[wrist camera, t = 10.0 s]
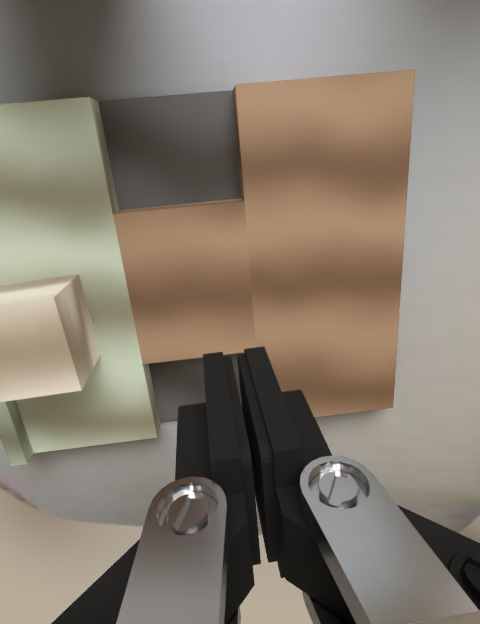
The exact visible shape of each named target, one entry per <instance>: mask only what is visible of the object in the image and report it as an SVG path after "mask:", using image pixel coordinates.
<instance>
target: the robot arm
mask: <svg viewBox="0 0 480 624" xmlns="http://www.w3.org/2000/svg"><path fill="white" fill-rule="evenodd" d="M237 361H238V372H239V383H240V393H241V402H240V397H239V392H238V387H237V382H236V378H235V373H234V368H233V363H232V358H231V356H226V357H223V352H216V353H208V354H203V366H204V381H205V395H206V402H204V403H197V404H190V405H182V406H179V407H178V424H177V449H176V474H175V481H174V482H171V483H170V484H168V485H167V486H165V487H164V488H163V489H161V490H160V491H159V492H158V494H157V495H156V496H155V497H154V498H153V500H152V503H151V505H150V507H149V509H148V513H147V516H146V520H145V524H144V527H143V531H142V534H141V538H140V539H139V540H138V541H137V542H136V543H135V544H134V545H133V546H132V547H131V548H130V549H129V550H128V551H127V552H126V553H125V554H124V555H123V556H122V557H121V558H120V559H119V560H117V561H116V562H115V563H114V564H113V565H112V566H111V567H110V568H109V569H108V570H107V571H106V572H105V573H104V574H103V575H102V576H101V577H100V578H99V579H98V580H97V581H95V582H94V583H93V584H92V585H91V587H89V588H88V589H87V590H86V591H85V592H84V593H83V594H82V595H81V596H80V597H79V598H78V599H77V600H76V601H74V602H73V603H72V605H70V606H69V607H68V608H67V609H66V610H65V611H64V612H63V613H62V614H61V615H60V616H59V617H58V618H57V619H56V620H55V621H54V622H53V623H52V624H240V621H241V620H240V619H241V616H240V607H239V606H240V604H241V603H242V602H243V600H244V599H245V598H246V596H247V595H248V593H249V592H250V590H251V589H252V588H253V586H254V575H253V565H257V564H260V563H261V560H260V549H259V538H258V526H257V514H256V502H257V507H258V512H259V517H260V522H261V528H262V533H263V538H264V543H265V548H266V554H267V559H268V562H274V561H277V562H278V567H279V571H280V576H281V578H283V577H285V578H286V580H287V581H289V582H291V583H292V584H293V585H295V586H296V587H298V588H299V589H301V590H302V591H303V597H304V601H305V604H306V607H307V610H308V612H309V615H310V617H311V619H312V622H313V624H480V543H478V542H476V541H474V540H471V539H469V538H467V537H465V536H463V535H461V534H459V533H456V532H454V531H452V530H450V529H448V528H446V527H444V526H441V525H439V524H437V523H435V522H433V521H431V520H429V519H426V518H424V517H422V516H420V515H418V514H416V513H414V512H411V511H409V510H407V509H405V508H403V507H401V506H398V505H397V504H396V503H395V502H394V501H393V499H392V498H391V497H390V495H389V494H388V493H387V492H386V490H385V489H384V488H383V486H382V485H381V484H380V483H379V481H378V480H377V479H376V477H375V476H374V475H373V474H372V473H371V472H370V471H369V470H368V469H367V468H366V467H365V466H364V465H362V464H361V463H359V462H357V461H355V460H353V459H350V458H346V457H343V456H332V454H331V452H330V450H329V448H328V446H327V443H326V441H325V439H324V437H323V435H322V433H321V431H320V428H319V426H318V424H317V422H316V420H315V418H314V416H313V413H312V411H311V409H310V407H309V405H308V403H307V400H306V398H305V396H304V394H303V392H302V391H301V390H300V389H299V390H292V391H285V392H282V391H281V389H280V386H279V384H278V381H277V378H276V376H275V373H274V370H273V368H272V365H271V363H270V360H269V357H268V355H267V352H266V349H265V347H264V346H263V347H255V348H247V349H244V354H242V355H237ZM241 404H242V407H241ZM255 496H256V502H255Z"/></svg>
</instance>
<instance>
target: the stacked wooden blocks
mask: <svg viewBox="0 0 480 624" xmlns="http://www.w3.org/2000/svg"><path fill="white" fill-rule="evenodd" d="M414 79H415V70H406V71H394V72H382V73H370V74H358V75H346V76H334V77H322V78H309V79H297V80H285V81H273V82H261V83H249V84H237V85H235V86H234V89H233V90H231V91H219V92H207V93H195V94H184V95H172V96H160V97H148V98H136V99H124V100H112V101H100V102H98V101H96V100H94V99H93V98H91V97H80V98H68V99H56V100H44V101H32V102H20V103H8V104H0V284H8V283H15V282H23V281H30V280H38V279H46V278H53V277H61V276H68V275H76V274H79V276H80V280H81V283H82V287H83V291H84V295H85V298H86V302H87V306H88V309H89V313H90V317H91V320H92V324H93V328H94V331H95V335H96V339H97V342H98V346H99V350H100V353H101V355H100V357H99V359H98V361H97V362H96V364H95V366H94V368H93V370H92V372H91V374H90V376H89V378H88V380H87V381H86V383H85V385H84V387H83V389H82V391H75V392H68V393H61V394H54V395H47V396H40V397H33V398H26V399H19V400H12V401H5V402H0V438H1V441H2V443H3V446H4V449H5V451H6V454H7V457H8V459H9V462H10V465H11V466H17V465H25V464H28V462H29V461H30V459H31V457H32V455H33V454H34V453H39V452H47V451H55V450H63V449H71V448H79V447H87V446H95V445H102V444H110V443H118V442H126V441H134V440H142V439H150V438H157V436H158V430H159V424H160V422H162V421H170V420H178V407H179V406H182V405H190V404H197V403H204V402H206V395H205V381H204V366H203V354H208V353H216V352H223V357H226V356H231V358H232V363H233V368H234V373H235V378H236V382H237V387H238V392H239V397H240V402H241V393H240V383H239V372H238V361H237V355H242V354H244V349H247V348H255V347H263V346H264V347H265V349H266V352H267V355H268V357H269V360H270V363H271V365H272V368H273V370H274V373H275V376H276V378H277V381H278V384H279V386H280V389H281V391H282V392H285V391H292V390H299V389H300V390H301V391H302V392H303V394H304V396H305V398H306V400H307V403H308V405H309V407H310V409H311V411H312V413H313V416H314V418H315V417H323V416H331V415H339V414H347V413H355V412H363V411H370V410H378V409H386V408H393V400H394V385H395V369H396V354H397V339H398V323H399V308H400V293H401V278H402V262H403V247H404V232H405V216H406V201H407V186H408V171H409V155H410V140H411V125H412V109H413V94H414ZM241 407H242V404H241Z"/></svg>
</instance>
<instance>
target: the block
mask: <svg viewBox="0 0 480 624" xmlns="http://www.w3.org/2000/svg"><path fill="white" fill-rule="evenodd" d="M100 355H101V353H100V350H99V346H98V342H97V339H96V335H95V331H94V328H93V324H92V320H91V317H90V313H89V309H88V306H87V302H86V298H85V295H84V291H83V287H82V283H81V280H80V276H79V274H76V275H68V276H61V277H53V278H46V279H38V280H30V281H23V282H15V283H8V284H0V402H5V401H12V400H19V399H26V398H33V397H40V396H47V395H54V394H61V393H68V392H75V391H82V389H83V387H84V385H85V383H86V381H87V380H88V378H89V376H90V374H91V372H92V370H93V368H94V366H95V364H96V362H97V361H98V359H99V357H100Z"/></svg>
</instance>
